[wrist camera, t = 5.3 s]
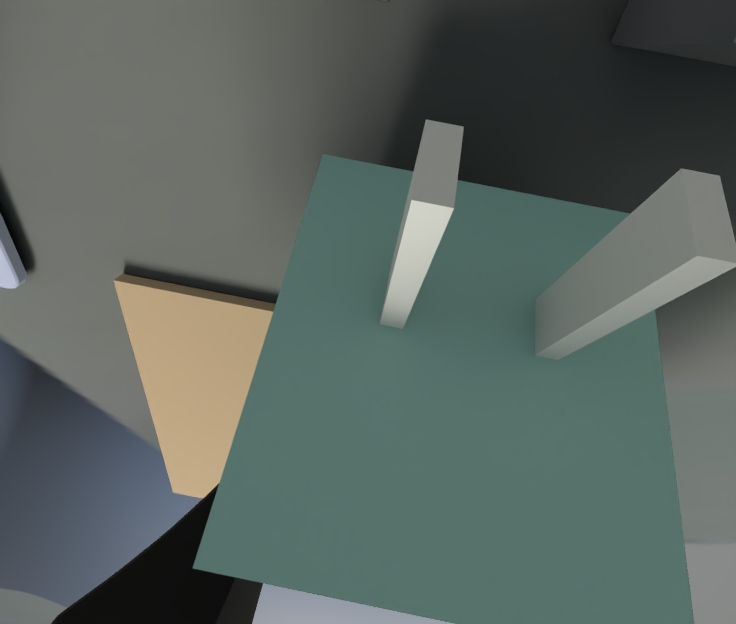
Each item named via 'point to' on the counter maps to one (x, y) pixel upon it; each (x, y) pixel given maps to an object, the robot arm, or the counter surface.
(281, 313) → the charger
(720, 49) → the power strip
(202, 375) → the cork mat
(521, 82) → the counter surface
